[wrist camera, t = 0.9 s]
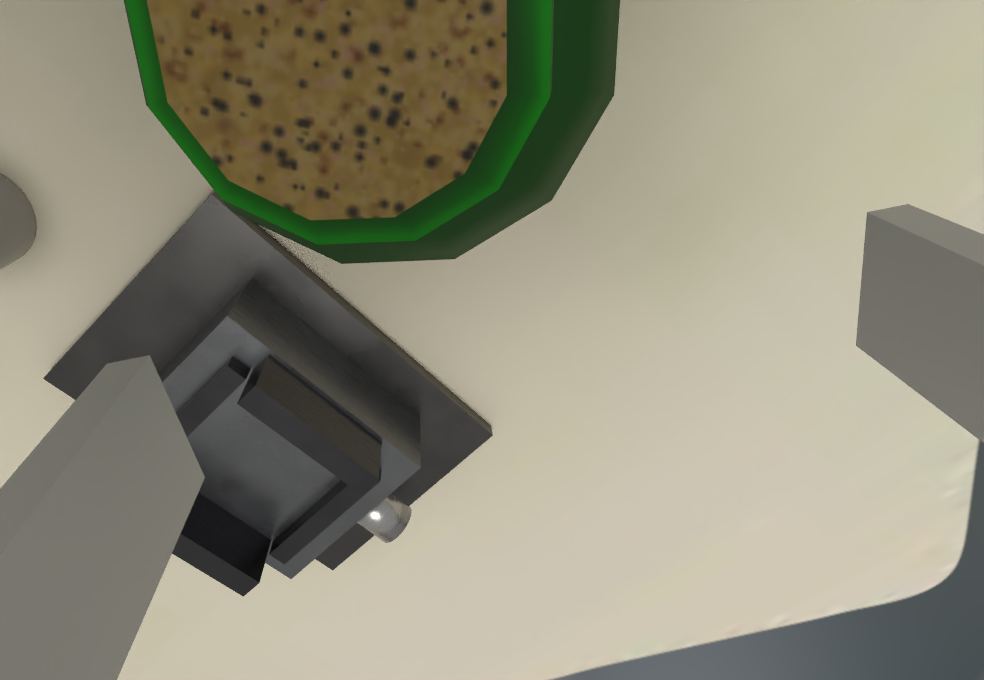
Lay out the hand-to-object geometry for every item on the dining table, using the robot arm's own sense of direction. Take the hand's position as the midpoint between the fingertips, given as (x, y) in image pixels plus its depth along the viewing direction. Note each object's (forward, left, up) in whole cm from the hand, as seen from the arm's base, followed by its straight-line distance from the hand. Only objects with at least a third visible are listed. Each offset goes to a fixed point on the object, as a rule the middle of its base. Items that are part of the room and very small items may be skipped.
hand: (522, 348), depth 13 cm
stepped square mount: (+3, -17, -24) cm, 29 cm away
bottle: (-6, +2, -24) cm, 25 cm away
